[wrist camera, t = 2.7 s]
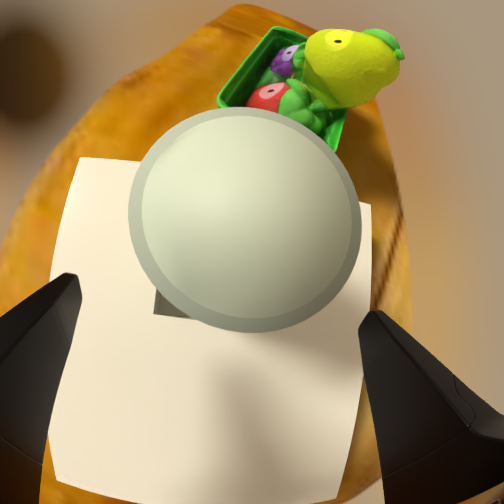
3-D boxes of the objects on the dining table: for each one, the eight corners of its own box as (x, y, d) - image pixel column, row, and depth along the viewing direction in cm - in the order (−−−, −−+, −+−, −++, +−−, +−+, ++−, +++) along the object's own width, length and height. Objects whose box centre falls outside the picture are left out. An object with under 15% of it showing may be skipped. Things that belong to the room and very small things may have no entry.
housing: (316, 476, 16) (336, 498, 13) (73, 458, 13) (56, 480, 9) (344, 220, 20) (370, 204, 17) (96, 181, 17) (80, 157, 14)
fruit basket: (260, 62, 22) (297, -35, 11) (345, 103, 23) (411, 22, 12) (204, 149, 19) (226, 16, 8) (316, 200, 20) (419, 113, 9)
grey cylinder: (208, 335, 16) (239, 386, 5) (149, 262, 16) (85, 184, 5) (276, 277, 17) (395, 230, 7) (221, 208, 17) (264, 81, 7)
